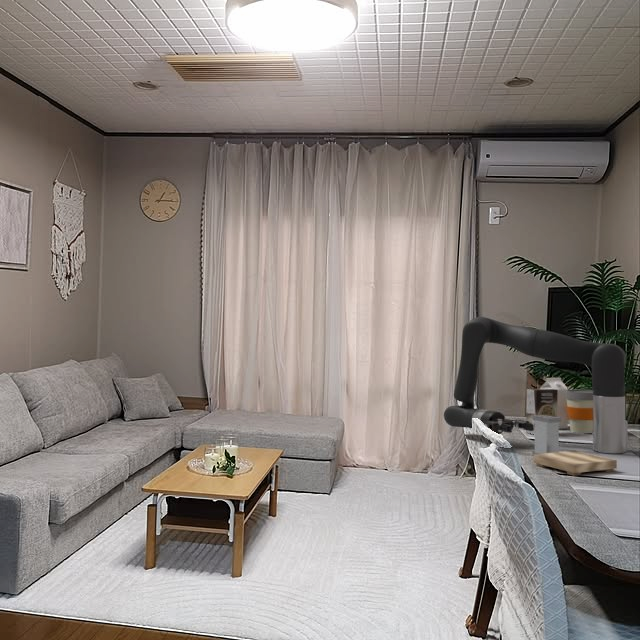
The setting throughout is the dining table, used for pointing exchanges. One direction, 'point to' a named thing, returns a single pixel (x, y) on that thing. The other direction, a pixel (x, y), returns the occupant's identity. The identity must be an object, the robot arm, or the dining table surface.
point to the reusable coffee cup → (580, 410)
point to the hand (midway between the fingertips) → (521, 428)
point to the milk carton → (559, 399)
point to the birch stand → (575, 462)
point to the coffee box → (541, 404)
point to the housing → (546, 434)
